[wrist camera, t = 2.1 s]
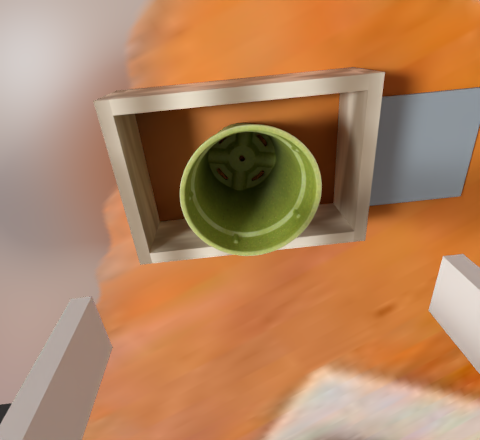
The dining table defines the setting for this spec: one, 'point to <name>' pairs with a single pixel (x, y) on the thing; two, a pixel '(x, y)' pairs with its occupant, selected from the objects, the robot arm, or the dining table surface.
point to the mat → (424, 145)
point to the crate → (239, 91)
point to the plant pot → (250, 190)
